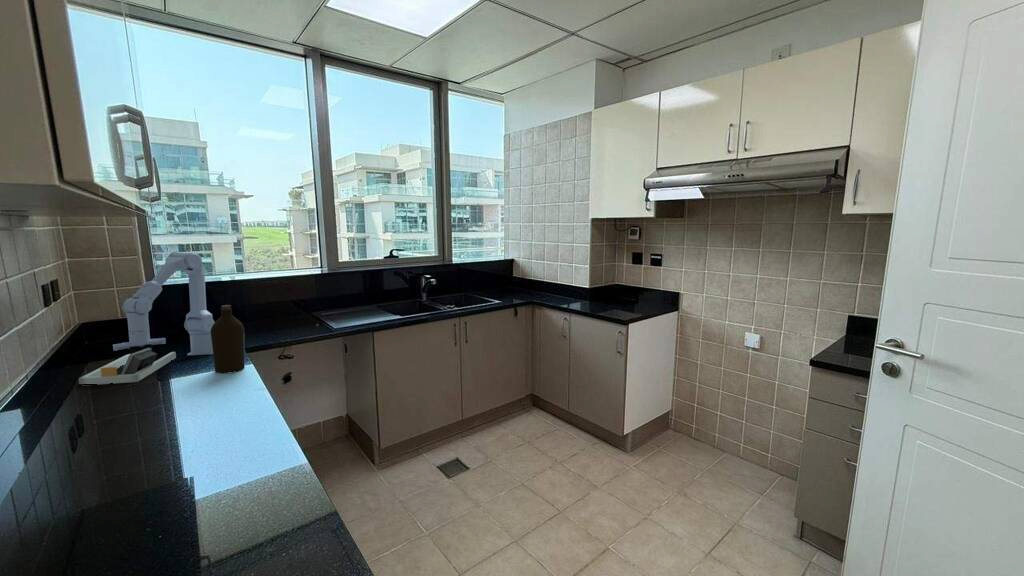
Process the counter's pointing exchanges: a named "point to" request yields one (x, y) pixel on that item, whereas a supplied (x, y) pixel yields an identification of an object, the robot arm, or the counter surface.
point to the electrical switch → (139, 361)
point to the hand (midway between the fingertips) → (142, 365)
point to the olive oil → (227, 342)
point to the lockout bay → (109, 374)
